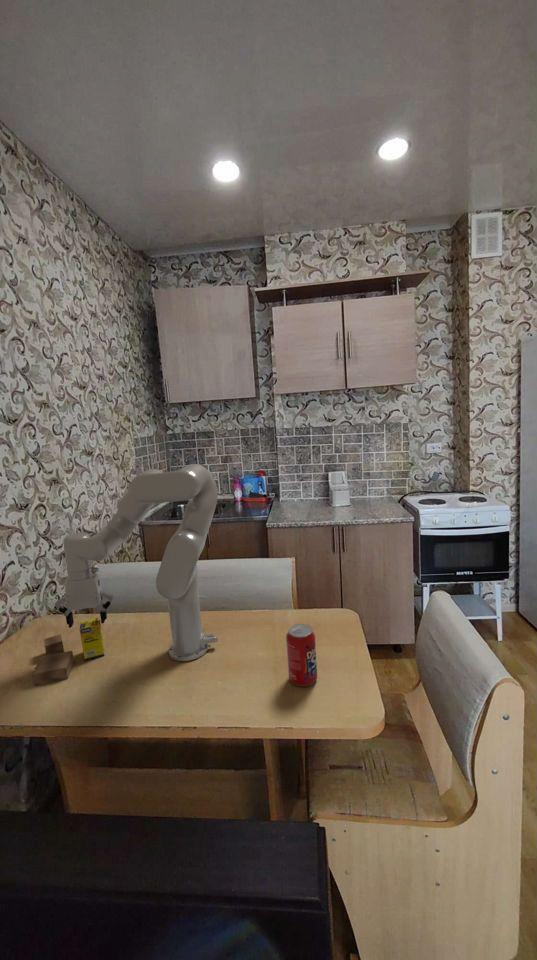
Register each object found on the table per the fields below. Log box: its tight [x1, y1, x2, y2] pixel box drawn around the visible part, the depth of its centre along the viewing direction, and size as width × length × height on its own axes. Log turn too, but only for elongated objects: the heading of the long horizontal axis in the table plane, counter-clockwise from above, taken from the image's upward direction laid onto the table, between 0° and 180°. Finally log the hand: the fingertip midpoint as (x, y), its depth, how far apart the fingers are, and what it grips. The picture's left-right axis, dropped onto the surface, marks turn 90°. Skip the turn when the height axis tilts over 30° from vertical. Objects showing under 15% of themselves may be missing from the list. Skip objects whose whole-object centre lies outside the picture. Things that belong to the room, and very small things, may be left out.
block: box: [43, 633, 65, 656], centre depth 136 cm, size 5×5×5 cm
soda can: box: [285, 623, 318, 687], centre depth 114 cm, size 8×8×15 cm
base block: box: [31, 650, 75, 686], centre depth 126 cm, size 9×9×4 cm
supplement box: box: [79, 616, 105, 662], centre depth 134 cm, size 6×6×11 cm
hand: (87, 623), depth 133 cm, fingers open, 9 cm apart
